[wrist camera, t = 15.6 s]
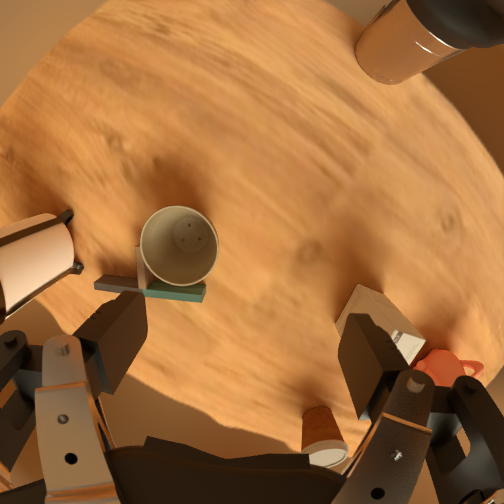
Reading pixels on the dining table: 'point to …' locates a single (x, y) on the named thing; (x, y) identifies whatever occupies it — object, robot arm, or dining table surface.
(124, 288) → the t-shaped slab assembly
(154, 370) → the dining table surface
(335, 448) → the disposable coffee cup
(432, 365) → the teapot
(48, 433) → the robot arm
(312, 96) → the dining table surface
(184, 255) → the flower pot
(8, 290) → the coffee press
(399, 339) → the skincare box
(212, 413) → the dining table surface
